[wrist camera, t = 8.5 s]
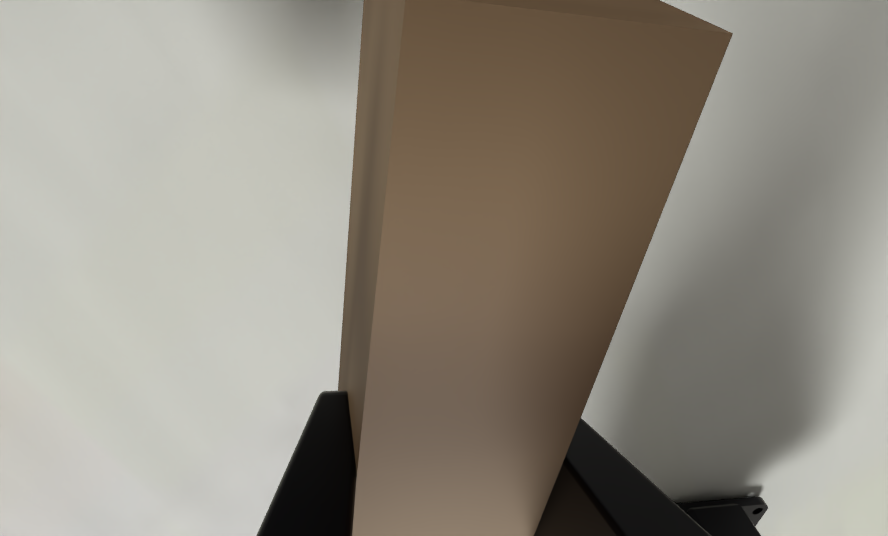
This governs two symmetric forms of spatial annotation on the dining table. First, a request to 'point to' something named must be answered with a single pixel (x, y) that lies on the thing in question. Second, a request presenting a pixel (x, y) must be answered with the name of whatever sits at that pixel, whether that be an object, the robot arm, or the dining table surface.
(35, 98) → the dining table surface
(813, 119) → the dining table surface
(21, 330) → the dining table surface
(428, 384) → the brown wooden slab
